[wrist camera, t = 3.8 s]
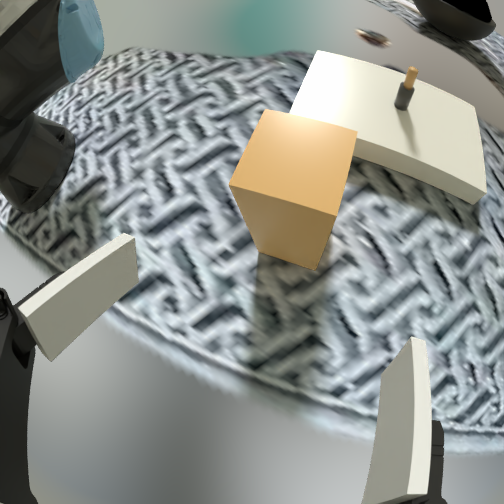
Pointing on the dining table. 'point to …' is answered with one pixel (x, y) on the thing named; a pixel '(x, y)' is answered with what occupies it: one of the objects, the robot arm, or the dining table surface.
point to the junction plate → (398, 122)
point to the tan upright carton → (293, 184)
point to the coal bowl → (458, 17)
